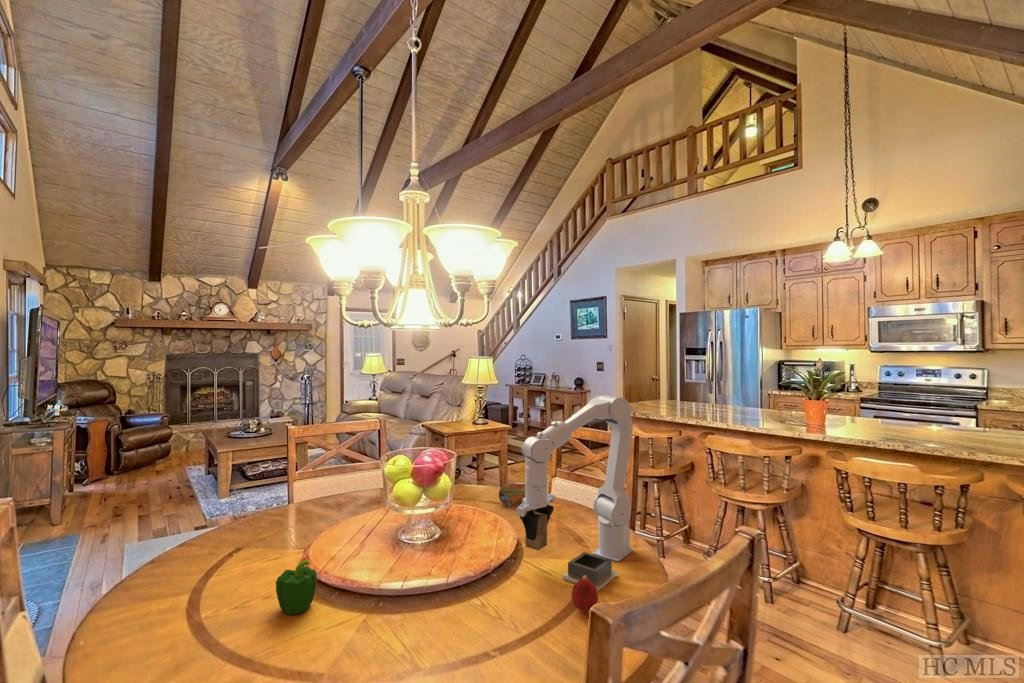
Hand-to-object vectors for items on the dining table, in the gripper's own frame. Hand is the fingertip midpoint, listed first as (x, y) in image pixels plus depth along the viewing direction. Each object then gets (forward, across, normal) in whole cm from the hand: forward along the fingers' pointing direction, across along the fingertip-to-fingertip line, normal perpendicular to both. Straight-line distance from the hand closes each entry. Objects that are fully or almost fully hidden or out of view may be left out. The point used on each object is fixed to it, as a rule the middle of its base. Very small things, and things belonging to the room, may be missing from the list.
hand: (536, 536), depth 129 cm
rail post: (+2, 0, 0) cm, 2 cm away
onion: (+9, +10, +20) cm, 24 cm away
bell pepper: (+9, +48, -31) cm, 58 cm away
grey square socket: (+9, -5, +13) cm, 16 cm away
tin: (+9, -37, -33) cm, 50 cm away
